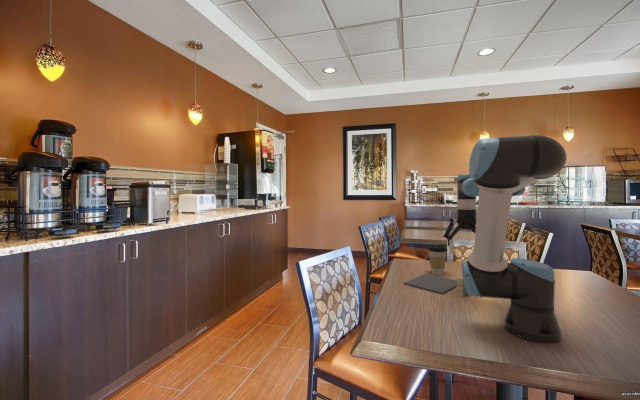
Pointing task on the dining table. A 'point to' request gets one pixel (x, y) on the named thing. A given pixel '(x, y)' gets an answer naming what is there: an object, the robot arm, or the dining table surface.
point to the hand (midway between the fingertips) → (466, 255)
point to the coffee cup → (437, 259)
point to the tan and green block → (461, 286)
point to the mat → (433, 283)
